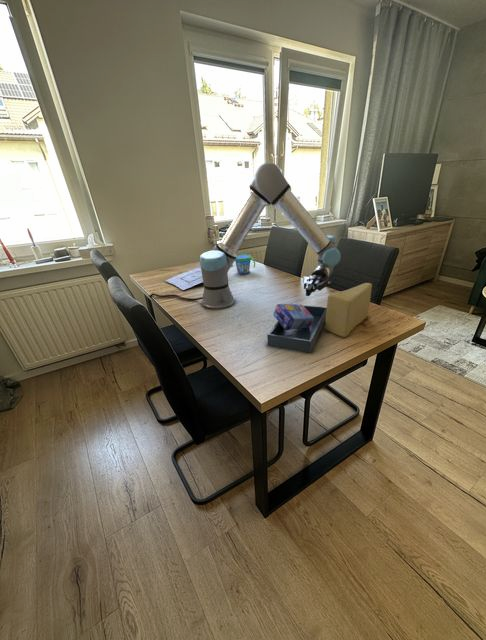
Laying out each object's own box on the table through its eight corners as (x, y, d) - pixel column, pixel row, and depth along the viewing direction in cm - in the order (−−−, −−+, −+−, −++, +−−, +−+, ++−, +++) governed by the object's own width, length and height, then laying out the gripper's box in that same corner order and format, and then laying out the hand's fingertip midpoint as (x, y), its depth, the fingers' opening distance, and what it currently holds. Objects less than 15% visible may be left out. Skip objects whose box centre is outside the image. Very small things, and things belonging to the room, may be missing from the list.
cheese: (355, 313, 121) (360, 279, 113) (376, 320, 114) (383, 284, 106) (323, 329, 109) (327, 293, 101) (344, 338, 102) (350, 300, 94)
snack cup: (257, 270, 180) (257, 254, 175) (252, 275, 172) (251, 258, 166) (235, 269, 184) (234, 253, 179) (229, 274, 176) (227, 257, 170)
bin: (267, 345, 100) (267, 334, 97) (291, 312, 123) (291, 303, 121) (310, 353, 95) (311, 341, 92) (326, 317, 118) (327, 307, 115)
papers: (228, 276, 167) (227, 270, 165) (184, 294, 153) (182, 288, 151) (207, 268, 183) (206, 263, 181) (166, 284, 169) (164, 279, 167)
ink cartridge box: (315, 317, 105) (285, 319, 98) (309, 328, 109) (280, 331, 101) (301, 302, 111) (271, 303, 104) (296, 313, 115) (267, 315, 107)
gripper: (333, 284, 129) (323, 303, 111) (306, 282, 134) (291, 299, 115) (335, 268, 125) (324, 285, 107) (307, 266, 130) (292, 282, 111)
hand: (307, 292), depth 111 cm, fingers closed
